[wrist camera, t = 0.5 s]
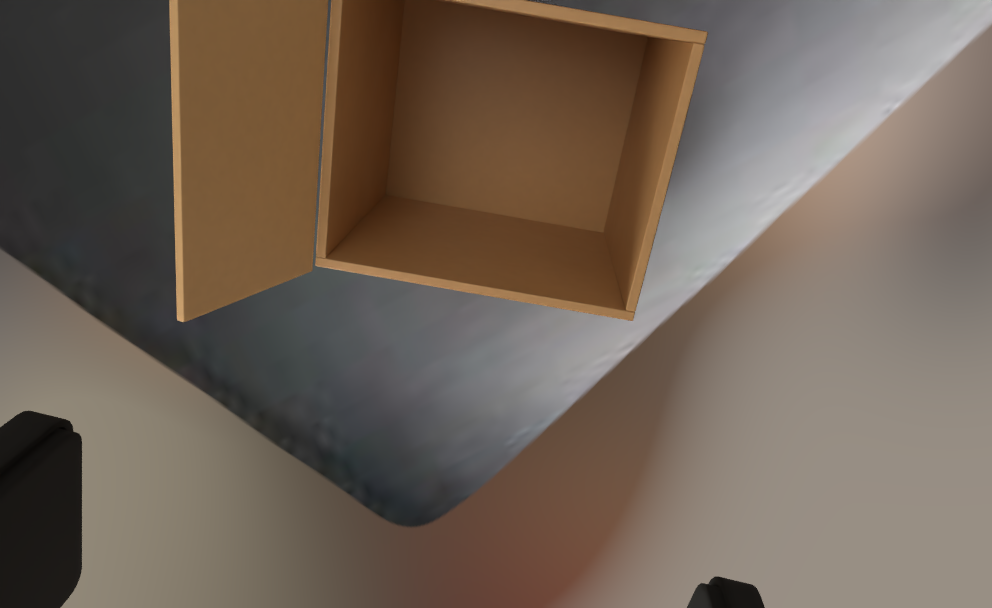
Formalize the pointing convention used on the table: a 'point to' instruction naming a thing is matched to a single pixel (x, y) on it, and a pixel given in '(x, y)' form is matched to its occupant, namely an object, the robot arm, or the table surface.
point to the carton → (501, 147)
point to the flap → (244, 145)
